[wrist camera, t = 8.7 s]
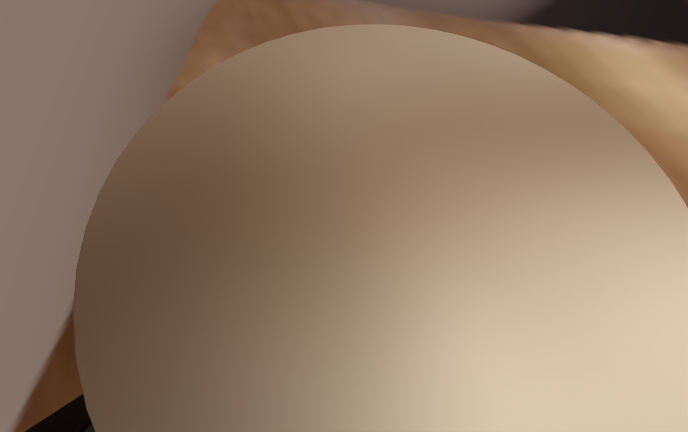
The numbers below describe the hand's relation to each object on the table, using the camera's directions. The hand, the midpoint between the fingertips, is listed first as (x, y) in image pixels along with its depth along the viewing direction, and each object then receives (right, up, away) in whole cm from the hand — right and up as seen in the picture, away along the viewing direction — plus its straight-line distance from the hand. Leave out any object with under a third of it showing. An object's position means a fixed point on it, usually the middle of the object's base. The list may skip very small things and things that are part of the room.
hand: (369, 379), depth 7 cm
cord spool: (-1, -3, +8) cm, 8 cm away
